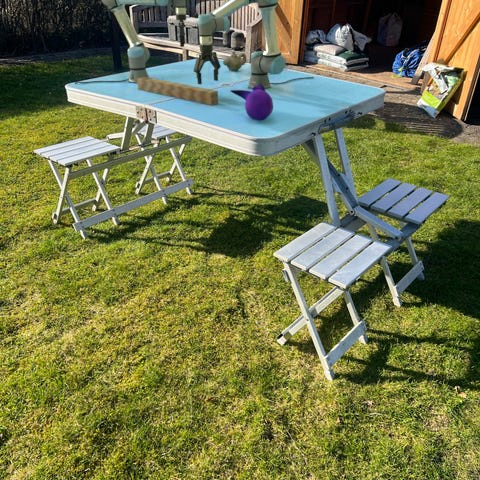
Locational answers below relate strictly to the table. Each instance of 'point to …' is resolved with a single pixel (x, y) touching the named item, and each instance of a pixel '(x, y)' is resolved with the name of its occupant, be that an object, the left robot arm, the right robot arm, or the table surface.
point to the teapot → (235, 61)
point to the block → (178, 90)
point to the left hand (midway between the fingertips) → (182, 45)
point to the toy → (256, 102)
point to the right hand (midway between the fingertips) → (208, 82)
